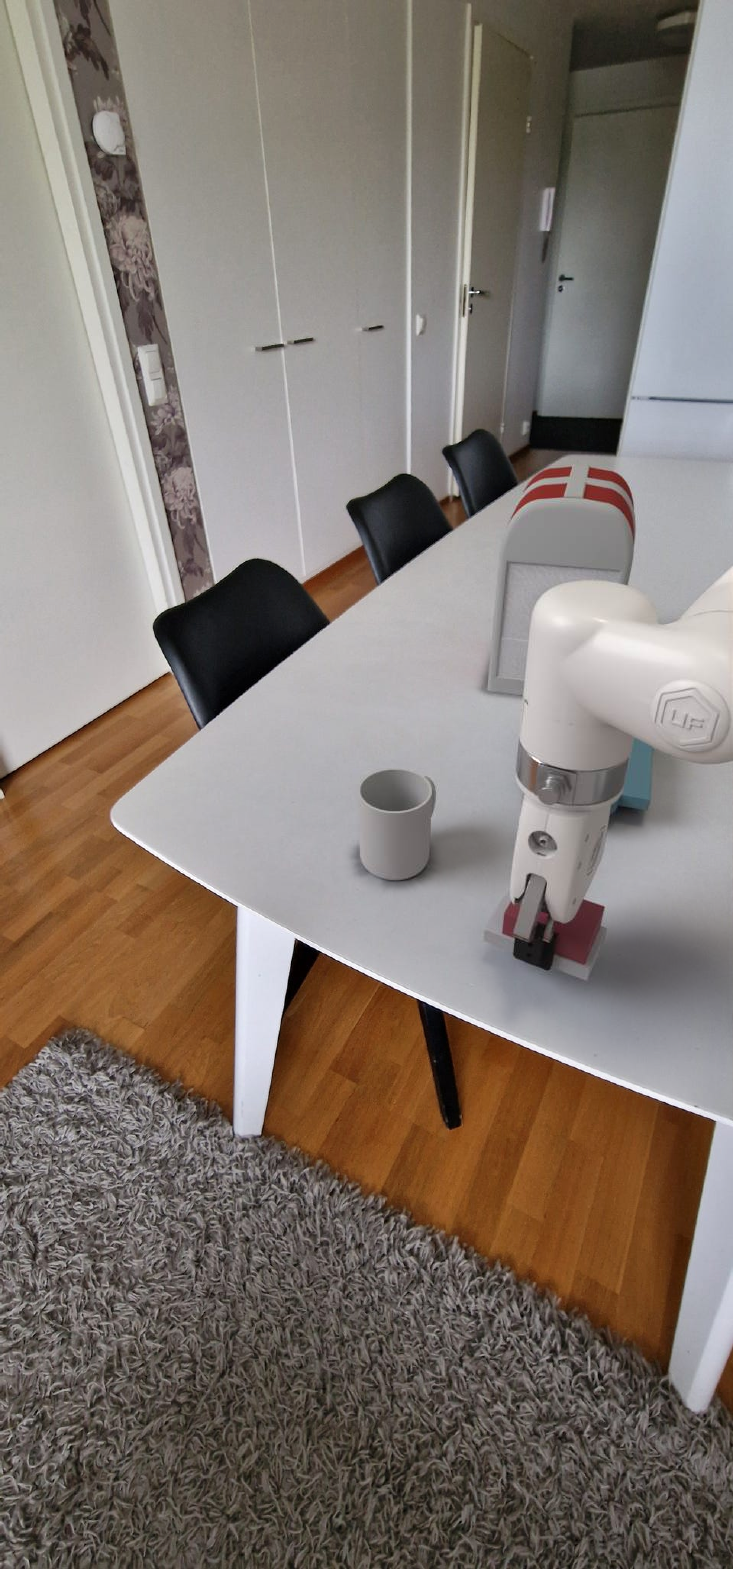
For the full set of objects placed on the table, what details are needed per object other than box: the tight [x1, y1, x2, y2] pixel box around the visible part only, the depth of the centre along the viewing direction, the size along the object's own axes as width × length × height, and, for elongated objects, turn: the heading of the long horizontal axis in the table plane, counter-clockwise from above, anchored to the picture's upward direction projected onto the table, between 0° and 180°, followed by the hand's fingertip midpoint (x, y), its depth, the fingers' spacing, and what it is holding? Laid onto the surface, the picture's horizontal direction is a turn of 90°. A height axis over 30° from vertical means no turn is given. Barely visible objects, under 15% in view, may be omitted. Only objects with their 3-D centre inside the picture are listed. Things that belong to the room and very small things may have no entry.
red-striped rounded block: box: [486, 463, 637, 697], centre depth 97 cm, size 16×18×27 cm
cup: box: [356, 767, 437, 881], centre depth 71 cm, size 7×10×9 cm
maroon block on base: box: [483, 892, 608, 982], centre depth 59 cm, size 9×5×4 cm, turn 60°
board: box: [609, 737, 654, 817], centre depth 83 cm, size 24×13×4 cm, turn 161°
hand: (544, 936), depth 60 cm, fingers closed on maroon block on base, 5 cm apart
